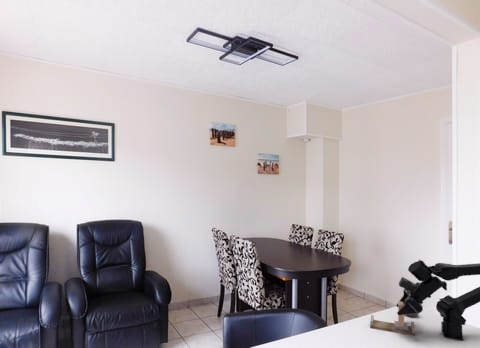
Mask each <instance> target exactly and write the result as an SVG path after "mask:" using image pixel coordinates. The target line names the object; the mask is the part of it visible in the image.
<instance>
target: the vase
mask: <svg viewBox="0 0 480 348" xmlns="http://www.w3.org/2000/svg"><path fill="white" fill-rule="evenodd" d="M419 314H420V313H411V314H405V315H406V316H407V317H410V318H416V317H417V316H418V315H419Z"/></svg>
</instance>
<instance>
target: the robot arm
mask: <svg viewBox="0 0 480 348" xmlns="http://www.w3.org/2000/svg"><path fill="white" fill-rule="evenodd" d="M407 270H408V272H409V273H410V274H411V275H412V276H413V277H415V278H416V279H417V280H418V282H416V283H415V282H413V281H411V280H410V279H407V278H405V277H404V276H402V277H401V278H400V280H399V281H398V286H399V287H400V288H402V289H403V293H402V294H403V295H402V297H400V299H399V301H400V302H403V303H404V306H403V307H402V308H401V309H400V310H399V311H397V312H396V313H397V316H398V315H404V316H405V315H406V314H411V313H419V314H420V313H422V312H423V311H424V310H423V305H422V304H424V301H425V300H427V299H431V298H432V295H433V294H434V293H436V292H437V291H438V290H439V289H441V288H442V289H443V290H444V291H447V290H448V288H447V286H448V284H447V282H446V281H453V280H457V279H459V278H460V277H466V276H467V277H468V276H477V275H479V276H480V263H468V264H467V263H466V264H452V263H445V262H444V263H443V262H437V263H435V264H434V265H429V266H428V265H427V264H426V263H425V261H424V260H422V259H418V260H417V261H414V262H412V263H411V264H410V265H409V266H408V269H407ZM441 279H442V280H441ZM443 280H444V281H443ZM478 303H480V286H478V287H475V288H474V289H472V290H470V291H468V292H466V293H464V294H461V295H459V296H456V297H453V296H451V295H445V296H444V297H443V298H439V300H438V301H437V302H436V305H435V306H436V307H435V308H436V312H438V313H439V315H440V317H442V321H441V322H440V323H441V326H440V328H441V333H442V334H443V337H444V338H448V339H454V340H459V341H464V337H463V326H465V325H466V322H467V319H466V318H465V317H463V314H464V312H465V310H466V309H468V308H470V307H472V306H475V305H476V304H477V305H478ZM396 307H397V308H398V302H397V303H396Z"/></svg>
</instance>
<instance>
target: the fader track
mask: <svg viewBox="0 0 480 348" xmlns="http://www.w3.org/2000/svg"><path fill="white" fill-rule="evenodd" d="M374 318H375V316H374V315H373V314H371V316H370V329H375V330H381V331H386V332H392V333H397V334H402V335H403V334H404V335H409V336H413V337H414V336H416V325H415V321H410V323H411V324H410V325H408V331H406V330H400V329H395V323H394V322H389V321H383V320H377V319H374Z"/></svg>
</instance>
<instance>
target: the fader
mask: <svg viewBox="0 0 480 348" xmlns="http://www.w3.org/2000/svg"><path fill="white" fill-rule="evenodd" d="M397 303H398V307H397V308H398V309H397V310H398V311H399V310H400V309H401V308H402V307H403V306H404V303H403V302H400V300H398V302H397ZM398 311H397V312H398ZM397 317H398V318H397V320H394V322H393V323H395V329H400V330H406V331H408V326H409V325H408V322H405V314H404V315H398V314H397Z"/></svg>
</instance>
